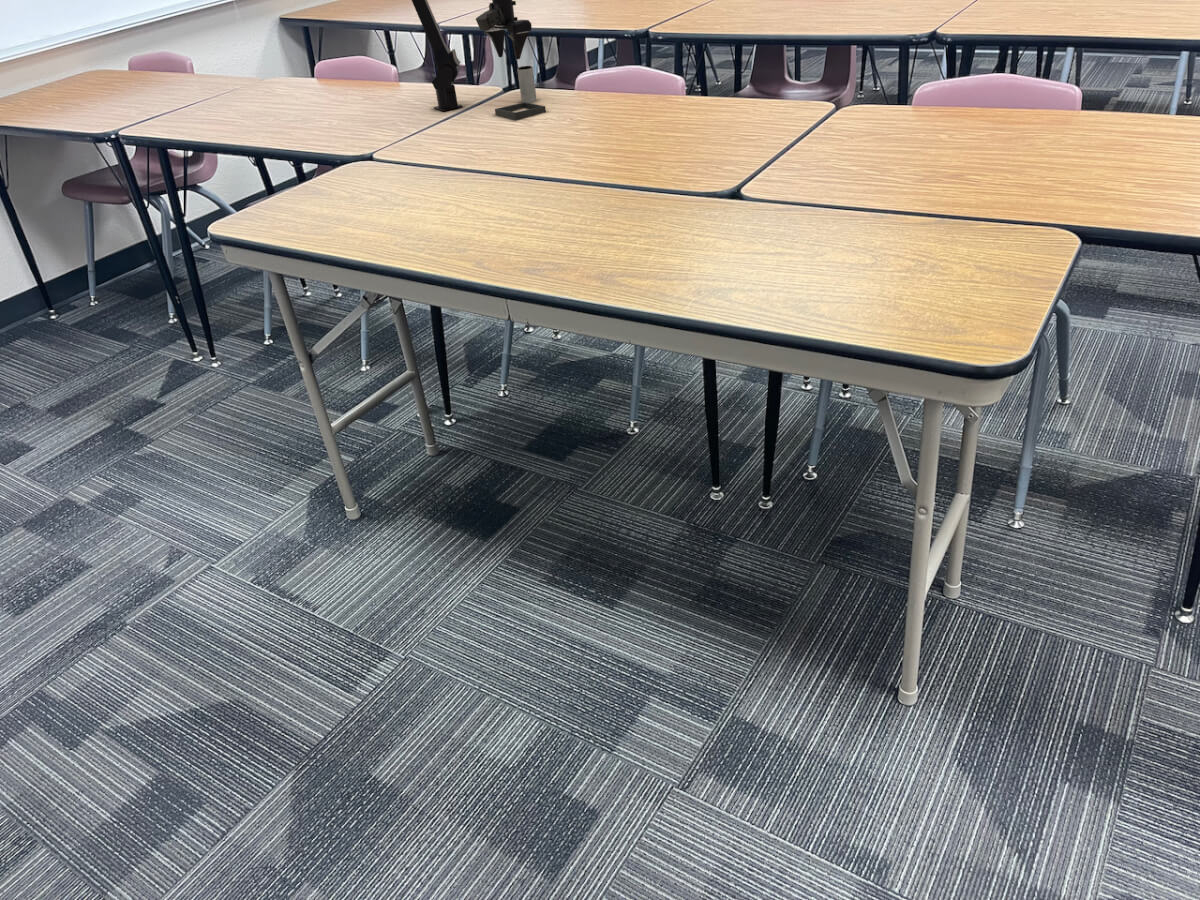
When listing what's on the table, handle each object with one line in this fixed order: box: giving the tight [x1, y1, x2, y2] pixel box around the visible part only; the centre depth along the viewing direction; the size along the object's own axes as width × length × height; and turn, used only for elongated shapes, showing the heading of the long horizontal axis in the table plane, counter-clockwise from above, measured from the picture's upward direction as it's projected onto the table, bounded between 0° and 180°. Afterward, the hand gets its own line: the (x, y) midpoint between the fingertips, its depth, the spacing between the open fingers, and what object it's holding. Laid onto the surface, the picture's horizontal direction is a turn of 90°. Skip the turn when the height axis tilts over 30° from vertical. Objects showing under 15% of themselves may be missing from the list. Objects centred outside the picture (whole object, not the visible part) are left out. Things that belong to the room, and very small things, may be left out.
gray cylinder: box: [516, 65, 538, 104], centre depth 250 cm, size 4×4×10 cm
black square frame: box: [494, 102, 547, 121], centre depth 241 cm, size 10×10×2 cm
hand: (509, 58), depth 247 cm, fingers open, 9 cm apart
